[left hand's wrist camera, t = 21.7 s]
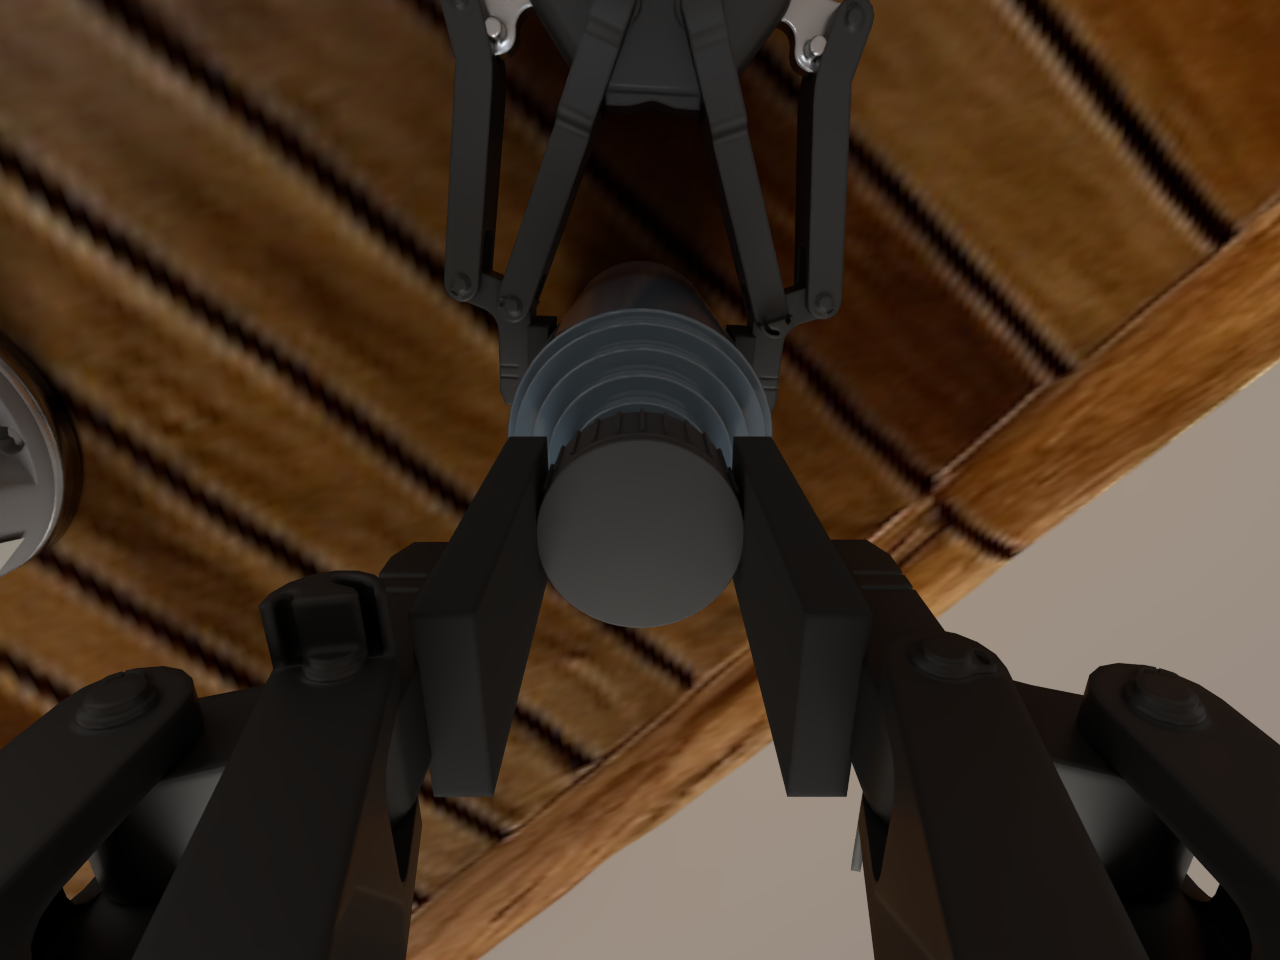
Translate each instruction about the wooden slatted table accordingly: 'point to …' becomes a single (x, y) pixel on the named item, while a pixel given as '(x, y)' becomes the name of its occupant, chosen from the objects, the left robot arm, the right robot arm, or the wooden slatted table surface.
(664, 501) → the cap
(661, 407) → the bottle
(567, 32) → the right robot arm
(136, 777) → the left robot arm
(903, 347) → the wooden slatted table surface
